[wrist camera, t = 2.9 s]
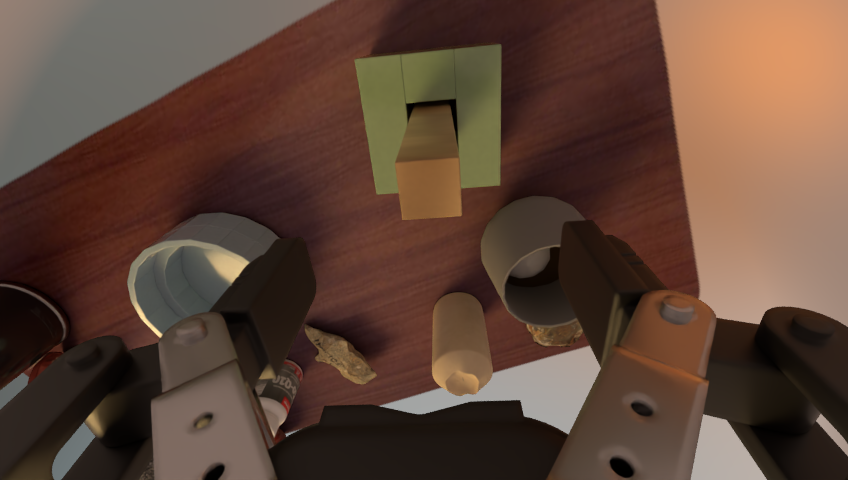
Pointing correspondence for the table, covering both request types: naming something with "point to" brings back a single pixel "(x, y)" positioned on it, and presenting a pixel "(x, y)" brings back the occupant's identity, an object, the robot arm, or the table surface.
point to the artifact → (340, 355)
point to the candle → (460, 345)
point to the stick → (429, 164)
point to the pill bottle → (279, 393)
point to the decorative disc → (556, 334)
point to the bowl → (193, 266)
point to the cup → (529, 259)
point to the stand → (431, 81)
